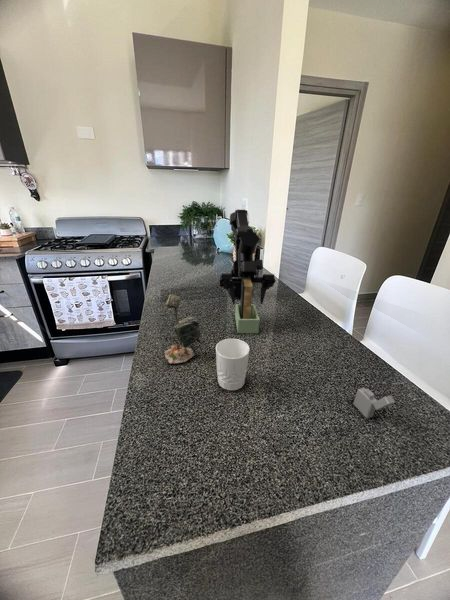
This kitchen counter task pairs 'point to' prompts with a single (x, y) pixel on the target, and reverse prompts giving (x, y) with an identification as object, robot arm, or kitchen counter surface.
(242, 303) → the eraser
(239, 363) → the white cup
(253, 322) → the holder
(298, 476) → the kitchen counter surface
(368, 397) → the grey angled bracket
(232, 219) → the robot arm
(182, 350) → the plant with pod
